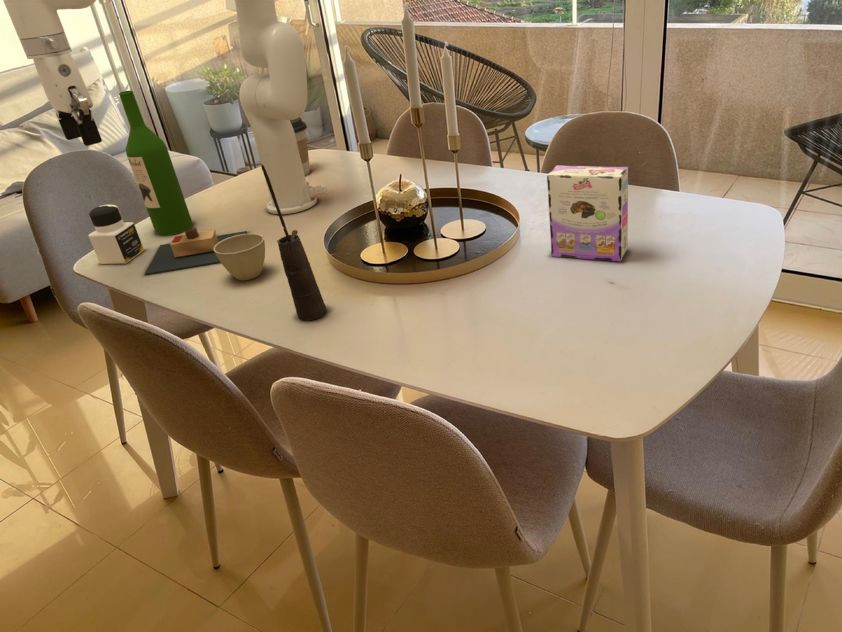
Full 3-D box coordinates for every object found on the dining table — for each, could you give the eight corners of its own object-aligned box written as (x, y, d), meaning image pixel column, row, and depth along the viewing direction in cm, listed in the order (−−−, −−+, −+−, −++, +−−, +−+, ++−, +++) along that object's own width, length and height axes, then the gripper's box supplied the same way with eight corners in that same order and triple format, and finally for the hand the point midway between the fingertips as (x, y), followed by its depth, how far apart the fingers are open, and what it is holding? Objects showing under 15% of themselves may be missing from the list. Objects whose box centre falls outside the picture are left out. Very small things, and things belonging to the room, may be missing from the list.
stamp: (219, 243, 158) (212, 221, 155) (216, 252, 154) (209, 230, 151) (179, 250, 157) (171, 228, 155) (175, 259, 153) (167, 236, 150)
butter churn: (310, 295, 131) (272, 148, 117) (350, 303, 127) (315, 151, 112) (277, 318, 125) (232, 166, 110) (317, 327, 120) (275, 169, 106)
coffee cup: (271, 181, 195) (256, 127, 187) (286, 168, 205) (273, 116, 197) (308, 179, 193) (296, 125, 185) (322, 166, 202) (310, 113, 194)
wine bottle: (147, 234, 169) (95, 97, 152) (173, 220, 176) (125, 87, 159) (175, 236, 166) (125, 96, 149) (200, 222, 173) (155, 86, 156)
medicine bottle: (126, 264, 155) (106, 213, 149) (99, 264, 157) (77, 214, 150) (145, 250, 161) (126, 201, 154) (118, 250, 162) (98, 202, 156)
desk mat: (247, 232, 163) (246, 230, 163) (239, 259, 150) (238, 258, 150) (160, 246, 162) (160, 244, 162) (145, 275, 148) (144, 273, 148)
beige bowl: (282, 265, 145) (273, 233, 141) (255, 287, 137) (245, 254, 133) (242, 263, 148) (232, 232, 144) (213, 284, 140) (202, 252, 136)
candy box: (628, 250, 133) (630, 165, 124) (620, 263, 128) (621, 176, 120) (559, 244, 138) (556, 163, 130) (550, 256, 134) (545, 173, 125)
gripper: (84, 43, 122) (120, 140, 131) (51, 41, 133) (87, 131, 142) (40, 52, 118) (81, 152, 127) (10, 49, 129) (49, 141, 138)
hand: (84, 140), depth 135 cm, fingers open, 9 cm apart
